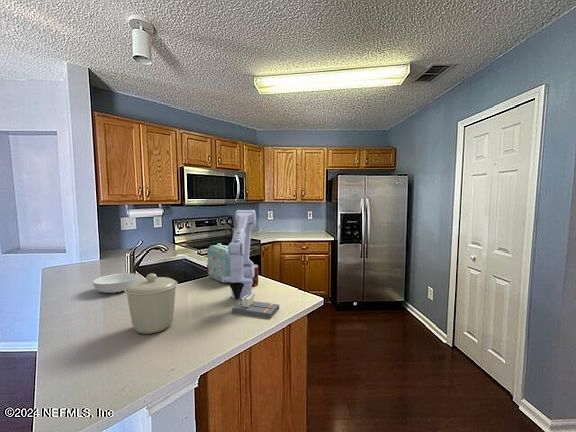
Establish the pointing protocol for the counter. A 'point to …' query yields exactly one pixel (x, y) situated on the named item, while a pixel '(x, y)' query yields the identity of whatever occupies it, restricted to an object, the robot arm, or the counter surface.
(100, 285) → the serving bowl
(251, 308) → the fader console
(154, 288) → the canister
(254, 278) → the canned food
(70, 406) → the counter surface
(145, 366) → the counter surface
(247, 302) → the fader knob
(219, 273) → the lunch box
